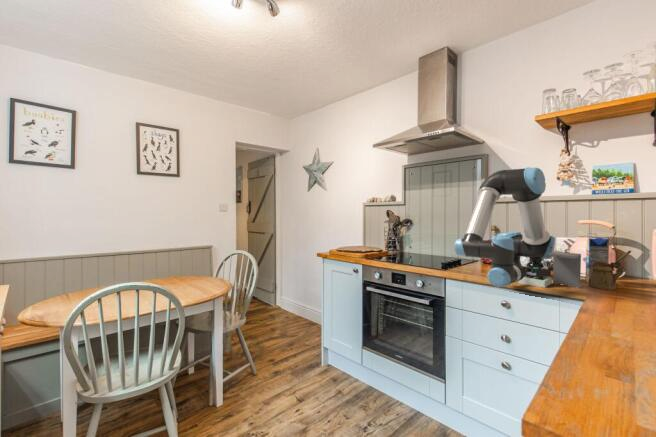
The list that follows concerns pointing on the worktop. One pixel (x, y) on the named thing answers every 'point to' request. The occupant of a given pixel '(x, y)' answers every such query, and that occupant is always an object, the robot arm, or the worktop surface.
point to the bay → (566, 268)
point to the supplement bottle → (535, 266)
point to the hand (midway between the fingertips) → (529, 267)
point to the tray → (536, 281)
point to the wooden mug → (606, 274)
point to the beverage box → (595, 254)
